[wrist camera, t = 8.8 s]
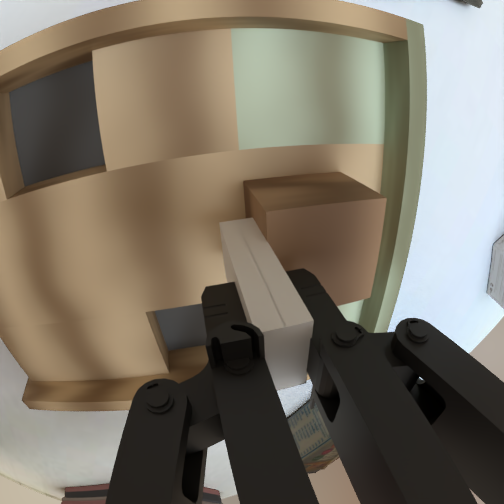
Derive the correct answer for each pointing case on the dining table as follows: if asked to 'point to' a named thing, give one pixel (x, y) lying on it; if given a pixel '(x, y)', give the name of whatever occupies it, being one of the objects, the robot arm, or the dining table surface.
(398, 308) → the dining table surface
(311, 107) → the box
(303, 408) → the beverage carton
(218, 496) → the toaster
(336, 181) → the block
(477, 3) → the salad plate
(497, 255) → the supplement box
